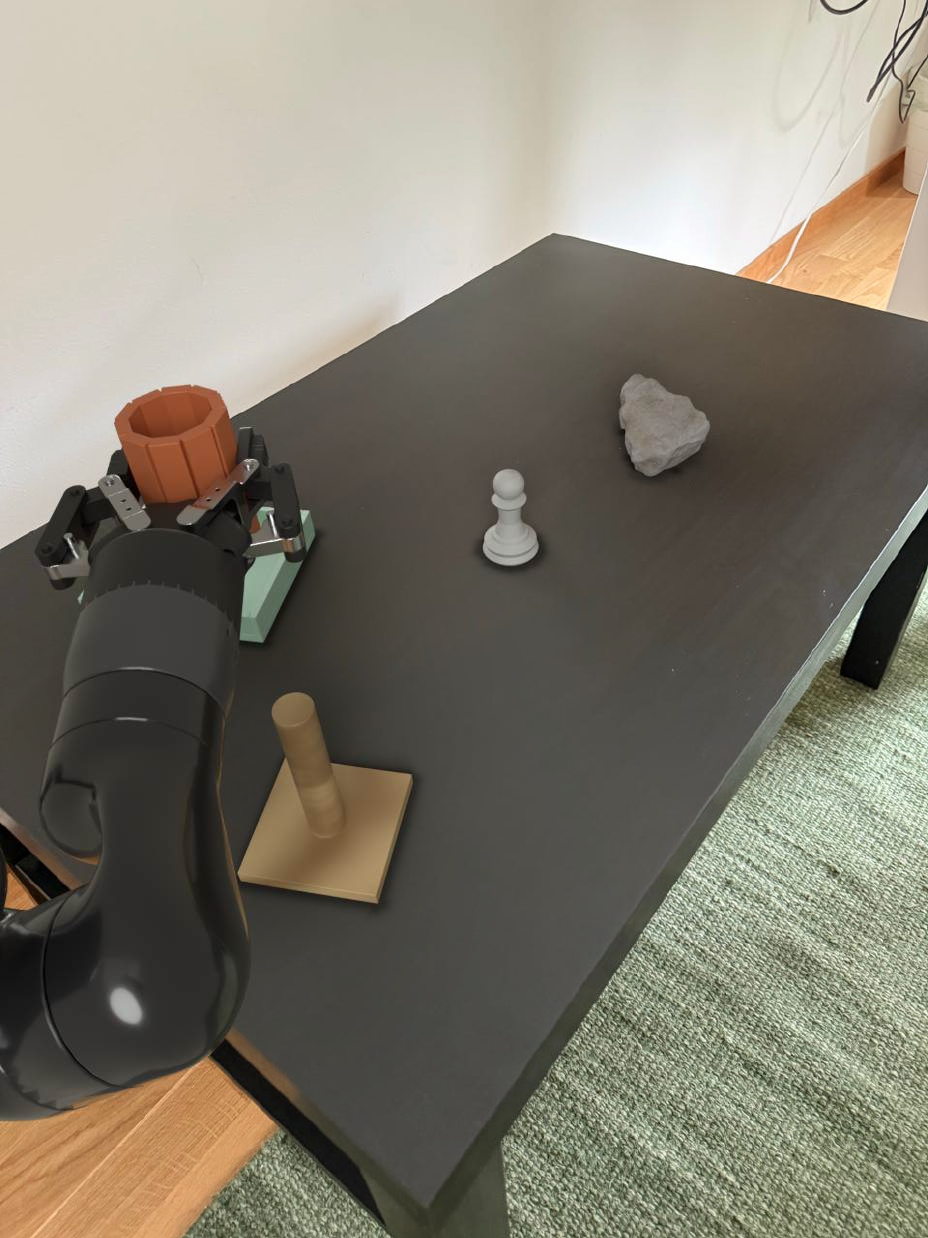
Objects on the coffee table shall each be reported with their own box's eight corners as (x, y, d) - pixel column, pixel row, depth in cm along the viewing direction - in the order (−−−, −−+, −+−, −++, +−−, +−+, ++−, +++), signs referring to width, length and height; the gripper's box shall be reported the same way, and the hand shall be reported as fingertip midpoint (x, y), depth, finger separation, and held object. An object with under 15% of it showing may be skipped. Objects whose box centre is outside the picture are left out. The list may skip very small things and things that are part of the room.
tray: (89, 623, 76) (77, 599, 74) (158, 521, 85) (148, 497, 83) (263, 643, 73) (255, 618, 71) (315, 535, 82) (310, 510, 80)
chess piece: (502, 575, 77) (498, 498, 71) (472, 544, 80) (467, 468, 74) (549, 553, 78) (549, 476, 73) (518, 524, 81) (516, 448, 75)
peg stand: (240, 881, 58) (185, 763, 49) (288, 765, 64) (246, 642, 56) (377, 904, 57) (346, 786, 48) (413, 782, 63) (391, 658, 54)
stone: (585, 436, 90) (587, 382, 86) (655, 412, 92) (660, 359, 88) (643, 489, 83) (648, 434, 79) (716, 462, 86) (725, 407, 82)
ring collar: (145, 566, 56) (94, 441, 50) (187, 503, 60) (145, 380, 54) (237, 575, 55) (197, 449, 49) (273, 510, 59) (241, 386, 53)
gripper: (293, 571, 41) (300, 377, 53) (-32, 609, 41) (48, 405, 53) (322, 681, 47) (322, 482, 59) (35, 716, 46) (93, 508, 58)
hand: (192, 446), depth 56 cm, fingers closed on ring collar, 6 cm apart
